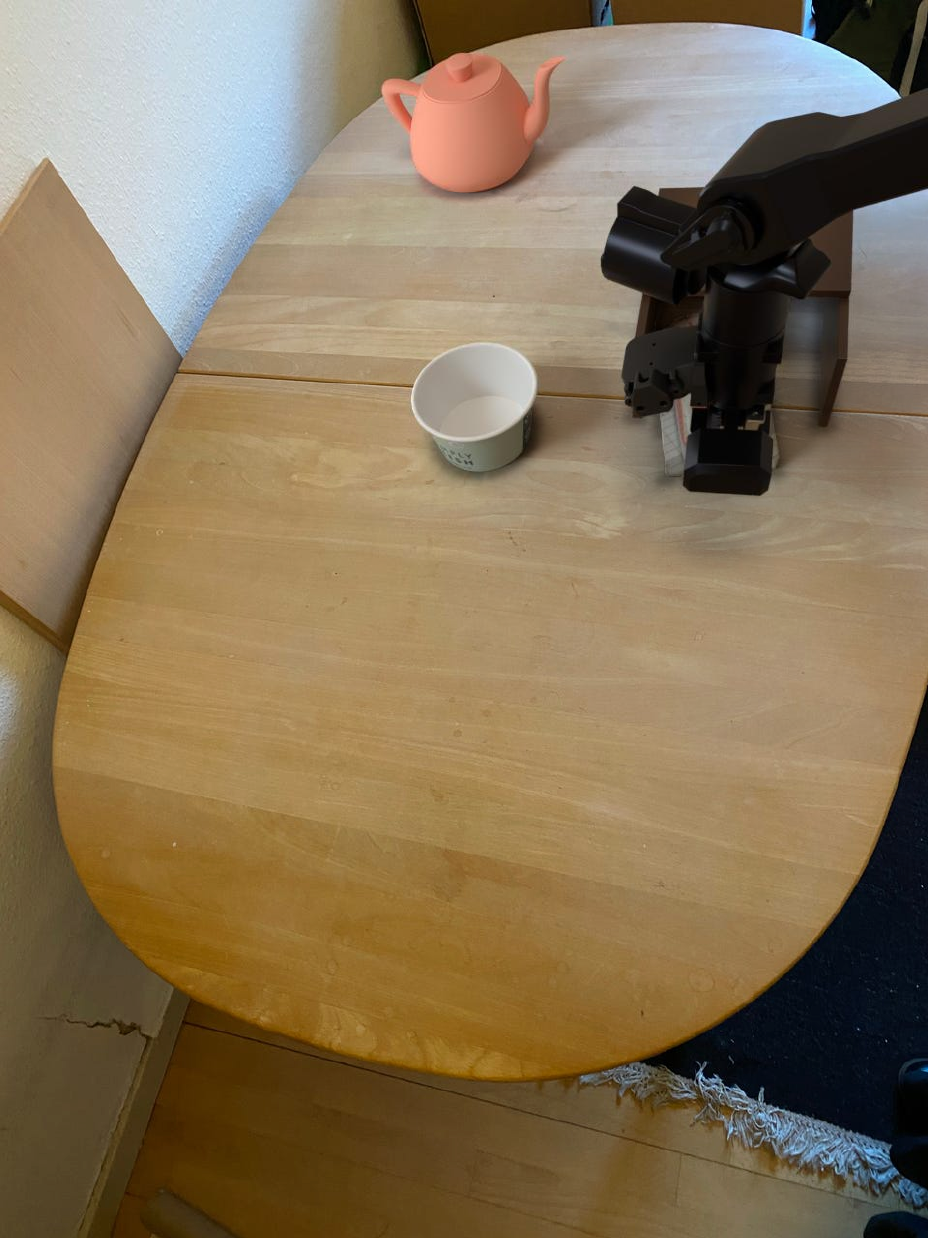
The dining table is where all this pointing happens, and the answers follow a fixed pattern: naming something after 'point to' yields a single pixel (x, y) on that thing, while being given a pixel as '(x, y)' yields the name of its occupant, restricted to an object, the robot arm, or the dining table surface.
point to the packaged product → (688, 421)
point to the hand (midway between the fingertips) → (723, 458)
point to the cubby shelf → (831, 287)
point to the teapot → (471, 120)
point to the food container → (477, 404)
